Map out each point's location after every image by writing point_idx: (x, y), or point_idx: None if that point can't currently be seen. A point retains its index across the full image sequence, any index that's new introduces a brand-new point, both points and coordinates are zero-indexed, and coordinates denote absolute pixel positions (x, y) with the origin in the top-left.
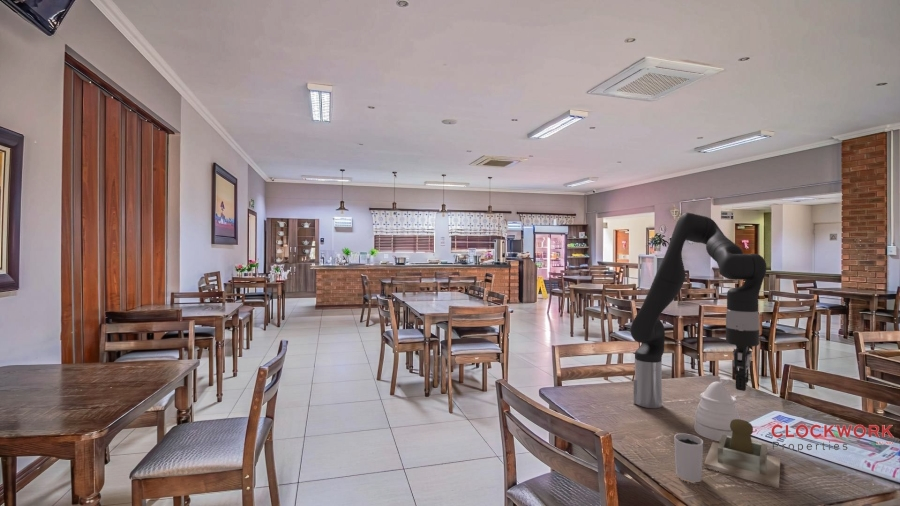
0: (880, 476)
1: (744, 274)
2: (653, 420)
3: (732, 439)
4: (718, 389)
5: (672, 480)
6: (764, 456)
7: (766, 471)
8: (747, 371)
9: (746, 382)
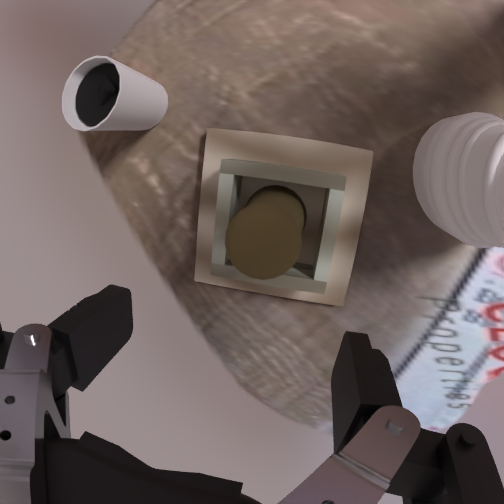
0: None
1: None
2: (456, 18)
3: (256, 203)
4: None
5: None
6: (230, 276)
7: None
8: (334, 439)
9: (333, 368)
